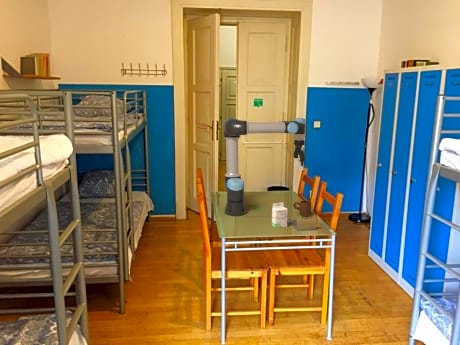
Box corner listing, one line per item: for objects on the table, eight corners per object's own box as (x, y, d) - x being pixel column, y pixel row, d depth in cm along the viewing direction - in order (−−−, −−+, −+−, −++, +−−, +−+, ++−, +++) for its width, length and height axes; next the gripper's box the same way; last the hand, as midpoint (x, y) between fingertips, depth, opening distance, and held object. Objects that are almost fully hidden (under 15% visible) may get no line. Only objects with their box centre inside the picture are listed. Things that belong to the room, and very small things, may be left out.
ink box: (275, 228, 248) (275, 205, 245) (271, 226, 252) (271, 203, 250) (287, 226, 251) (288, 203, 248) (283, 224, 256) (284, 201, 253)
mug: (293, 216, 272) (293, 203, 271) (292, 213, 280) (293, 200, 278) (311, 217, 271) (311, 203, 269) (310, 213, 279) (310, 200, 277)
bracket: (297, 230, 244) (297, 219, 243) (288, 221, 262) (288, 211, 261) (316, 229, 246) (316, 218, 245) (306, 220, 264) (306, 210, 262)
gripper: (310, 141, 279) (308, 171, 283) (299, 137, 303) (298, 165, 307) (299, 141, 278) (298, 171, 282) (289, 137, 302) (288, 165, 306)
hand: (298, 168), depth 295 cm, fingers open, 13 cm apart
